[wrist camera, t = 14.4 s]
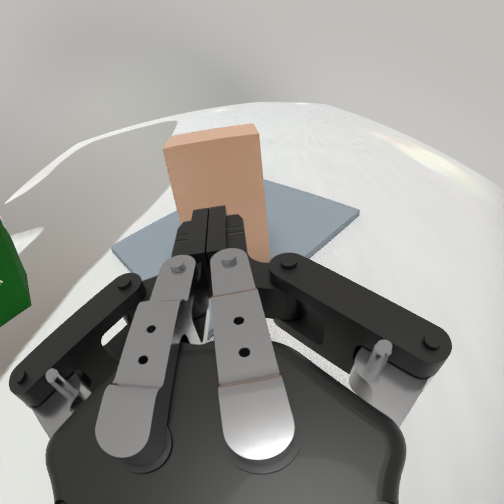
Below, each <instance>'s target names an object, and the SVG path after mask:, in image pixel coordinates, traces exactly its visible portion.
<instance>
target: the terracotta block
mask: <svg viewBox="0 0 504 504" xmlns="http://www.w3.org/2000/svg"><path fill="white" fill-rule="evenodd" d="M163 152H164V157H165V161H166V166H167V170H168V174H169V179H170V183H171V187H172V191H173V195H174V199H175V203H176V207H177V211H178V215H179V219H180V223H181V224H182V223H183V222H186V221H191V218H192V213H193V210H196V209H202V208H209V209H210V207H215V206H222V205H225V206H226V210H227V215H233V214H238V215H240V216H241V217H242V218H243V222H244V229H245V237H246V244H247V251H248V255H249V256H250V257H251V258H252V259H254V260H256V261H259V262H265V263H268V262H270V252H269V239H268V227H267V216H266V204H265V193H264V182H263V171H262V161H261V150H260V140H259V133H258V131H257V129H256V127H255V125H254V124H245V125H236V126H229V127H222V128H215V129H209V130H202V131H197V132H191V133H185V134H180V135H175V136H172V137H171V138H170V139H169V141H168V142H167V143H166V145H165V146H164V148H163Z"/></svg>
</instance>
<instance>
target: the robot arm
mask: <svg viewBox="0 0 504 504" xmlns="http://www.w3.org/2000/svg"><path fill="white" fill-rule="evenodd" d="M210 298H211V308H212V320H213V330H214V341H211V342H208V343H207V337H208V328H209V319H210V310H209V299H210ZM122 317H123V318H124V320H125V321H126V323H127V325H126V326H125V327H124V328H123V329H122V330H121V331H120V332H119V333H118V334H117V335H115V336H114V337H113V338H112V339H111V340H110V341H109V342H108V343H107V344H106V345H104V346H102V344H101V339H102V336H103V335H104V334H105V333H106V332H107V331H108V330H109V329H110V328H111V327H112V326H113V325H114V324H116V323H117V322H118V321H119V320H120V319H121V318H122ZM265 318H271V319H273V320H274V323H275V324H276V325H277V326H278V327H280V328H281V329H283V330H284V331H286V332H287V333H288V334H290V335H291V336H293V337H294V338H296V339H297V340H299V341H300V342H301V343H303V344H304V345H306V346H307V347H309V348H310V349H312V350H313V351H315V352H316V353H318V354H319V355H321V356H322V357H324V358H325V359H327V360H328V361H330V362H331V363H333V364H334V365H336V366H337V367H339V368H340V369H342V370H343V371H345V372H347V373H348V374H350V375H349V384H350V387H351V388H352V390H353V391H354V392H355V393H356V394H357V395H356V394H355V393H354V392H352V391H351V390H349V389H348V388H347V387H345V386H344V385H342V384H341V383H340V382H338V381H337V380H336V379H334V378H333V377H331V376H330V375H329V374H327V373H326V372H325V371H323V370H322V369H320V368H319V367H318V366H316V365H315V364H314V363H312V362H311V361H310V360H308V359H307V358H306V357H304V356H303V355H302V354H300V353H299V352H298V351H296V350H294V349H293V348H291V347H289V346H286V345H284V344H281V343H278V342H274V341H271V338H270V334H269V331H268V327H267V323H266V319H265ZM451 350H452V343H451V339H450V337H449V336H448V334H447V333H446V332H445V331H444V330H443V329H442V328H440V327H438V326H437V325H435V324H433V323H431V322H429V321H427V320H425V319H423V318H422V317H420V316H418V315H416V314H414V313H412V312H410V311H408V310H407V309H405V308H403V307H401V306H399V305H397V304H395V303H393V302H391V301H390V300H388V299H386V298H384V297H382V296H380V295H378V294H376V293H374V292H372V291H370V290H368V289H367V288H365V287H363V286H361V285H359V284H357V283H355V282H353V281H351V280H349V279H347V278H345V277H343V276H341V275H339V274H337V273H336V272H334V271H332V270H330V269H328V268H326V267H324V266H322V265H320V264H318V263H316V262H314V261H312V260H310V259H308V258H306V257H304V256H302V255H300V254H297V253H282V254H279V255H276V256H275V257H273V258H272V259H271V260H270V262H269V263H265V262H259V261H256V260H254V259H252V258H251V257H250V256H249V255H248V251H247V244H246V237H245V229H244V222H243V218H242V217H241V216H240V215H238V214H233V215H227V210H226V206H225V205H222V206H215V207H210V209H209V208H202V209H196V210H193V213H192V218H191V221H186V222H183V223H182V224H181V225H180V226H179V228H178V230H177V234H176V238H175V242H174V247H173V251H172V255H171V258H169V259H168V260H166V261H165V262H164V263H163V264H162V266H161V268H160V271H159V274H158V275H157V276H154V277H152V278H149V279H146V280H143V281H142V279H141V277H140V276H139V275H138V274H136V273H126V274H123V275H121V276H119V277H117V278H116V279H115V280H113V281H112V282H111V283H110V284H108V285H107V286H106V287H105V288H104V289H102V290H101V291H100V292H99V293H98V294H96V295H95V296H94V297H93V298H92V299H90V300H89V301H88V302H87V303H86V304H85V305H83V306H82V307H81V308H80V309H79V310H78V311H76V312H75V313H74V314H73V315H72V316H71V317H69V318H68V319H67V320H66V321H65V322H64V323H63V324H62V325H60V326H59V327H58V328H57V329H56V330H55V331H54V332H53V333H52V334H50V335H49V336H48V337H47V338H46V339H45V340H44V341H43V342H42V343H41V344H40V345H38V346H37V347H36V348H35V349H34V350H33V351H32V352H31V353H30V354H29V355H28V356H27V357H26V358H25V359H24V360H23V361H22V362H21V363H20V364H19V365H17V366H16V368H15V369H14V370H13V371H12V373H11V376H10V379H9V387H10V390H11V391H12V393H14V394H15V395H16V396H17V397H18V398H19V399H21V400H22V401H23V402H24V403H25V404H26V405H27V406H28V407H29V408H31V409H32V410H33V412H34V413H35V415H36V417H37V418H38V420H39V422H40V424H41V425H42V427H43V428H44V430H45V432H46V433H47V435H48V436H49V438H50V440H49V443H48V445H47V449H46V466H47V470H48V473H49V477H50V480H51V484H52V489H53V494H54V503H55V504H399V502H398V494H399V484H400V479H401V474H402V470H403V467H404V464H405V459H406V443H405V439H404V436H403V434H402V432H401V430H400V428H399V426H400V425H401V424H402V422H403V421H404V419H405V417H406V416H407V414H408V413H409V411H410V410H411V408H412V406H413V405H414V403H415V401H416V400H417V398H418V396H419V395H420V394H421V392H422V391H423V390H424V389H425V387H426V386H427V385H428V384H429V382H430V381H431V380H432V378H433V377H434V376H435V374H436V373H437V372H438V370H439V369H440V368H441V366H442V365H443V364H444V362H445V361H446V359H447V358H448V356H449V355H450V353H451Z"/></svg>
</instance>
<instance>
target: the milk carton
mask: <svg viewBox="0 0 504 504" xmlns="http://www.w3.org/2000/svg"><path fill="white" fill-rule="evenodd" d="M30 306H31V300H30V295H29V288H28V281H27V274H26V272H25V270H24V268H23V266H22V263H21V261H20V258H19V256H18V253H17V251H16V248H15V246H14V244H13V241H12V239H11V237H10V235H9V233H8V230H7V228H6V226H5V224H4V222H3V220H2V217H1V215H0V327H1V326H2V325H4V324H5V323H7V322H8V321H9V320H11V319H12V318H14V317H15V316H16V315H18V314H19V313H21V312H22V311H24V310H25V309H27V308H28V307H30Z"/></svg>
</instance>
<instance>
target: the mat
mask: <svg viewBox="0 0 504 504" xmlns="http://www.w3.org/2000/svg"><path fill="white" fill-rule="evenodd" d="M263 182H264V193H265V204H266V216H267V227H268V239H269V252H270V260H271V259H272V258H273V257H275V256H276V255H279V254H282V253H297V254H300V255H302V256H304V257H306V258H308V259H309V258H310V257H311V256H312V255H313V254H315V253H316V252H317V251H318V250H319V249H320V248H322V247H323V246H324V245H325V244H326V243H328V242H329V241H330V240H331V239H332V238H333V237H335V236H336V235H337V234H338V233H339V232H340V231H342V230H343V229H344V228H345V227H346V226H347V225H348V224H350V223H351V222H352V221H353V220H354V219H355V218H356V217H358V216H359V212H360V210H359V209H356V208H353V207H350V206H347V205H344V204H341V203H338V202H335V201H332V200H329V199H326V198H323V197H320V196H317V195H314V194H311V193H307V192H304V191H301V190H298V189H294V188H291V187H288V186H284V185H281V184H278V183H274V182H271V181H267V180H264V179H263ZM180 225H181V223H180V219H179V215H178V211H175V212H173V213H171V214H169V215H167V216H165V217H163V218H162V219H160V220H158V221H156V222H154V223H152V224H150V225H148V226H147V227H145V228H143V229H141V230H139V231H137V232H136V233H134V234H132V235H130V236H128V237H127V238H125V239H123V240H121V241H119V242H118V243H116V244H114V245H112V246H111V249H112V251H113V252H114V254H115V255H116V256H117V257H118V258H119V259H120V260H121V261H122V262H123V264H124V265H125V266H126V267H127V268H128V269H129V270H130V271H131V272H132V273H136V274H138V275H139V276H140V277H141V279H142V281H143V280H146V279H149V278H152V277H154V276H157V275H158V274H159V271H160V268H161V266H162V264H163V263H164V262H165V261H166V260H168V259H169V258H171V255H172V251H173V247H174V242H175V238H176V234H177V230H178V228H179V226H180ZM268 263H269V262H268ZM209 310H210V319H209V328H208V337H207V339H209V338H210V337H211V336H212V335H214V330H213V320H212V308H211V298H210V299H209Z"/></svg>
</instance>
